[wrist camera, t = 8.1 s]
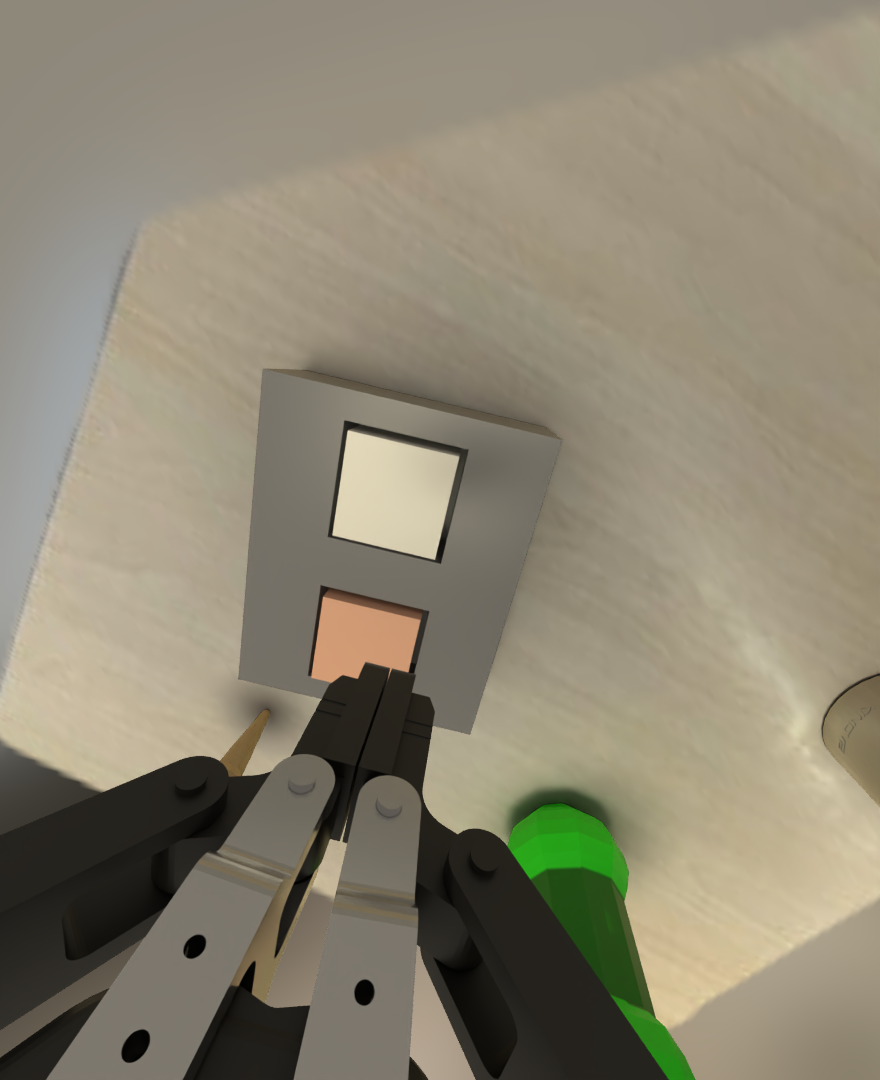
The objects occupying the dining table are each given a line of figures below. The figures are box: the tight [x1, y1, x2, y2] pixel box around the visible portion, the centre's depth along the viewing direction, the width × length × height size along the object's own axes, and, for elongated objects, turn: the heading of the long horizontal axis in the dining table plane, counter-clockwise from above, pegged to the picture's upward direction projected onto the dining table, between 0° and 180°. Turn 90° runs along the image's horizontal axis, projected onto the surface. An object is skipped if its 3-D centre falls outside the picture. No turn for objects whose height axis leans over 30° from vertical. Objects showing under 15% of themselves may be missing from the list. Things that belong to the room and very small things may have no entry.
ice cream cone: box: [220, 710, 270, 777], centre depth 32 cm, size 6×6×15 cm
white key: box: [333, 425, 462, 560], centre depth 26 cm, size 6×6×3 cm
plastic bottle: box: [507, 803, 695, 1080], centre depth 29 cm, size 10×10×25 cm
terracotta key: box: [311, 588, 423, 683], centre depth 30 cm, size 6×6×3 cm
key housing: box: [238, 369, 562, 734], centre depth 30 cm, size 16×20×6 cm
